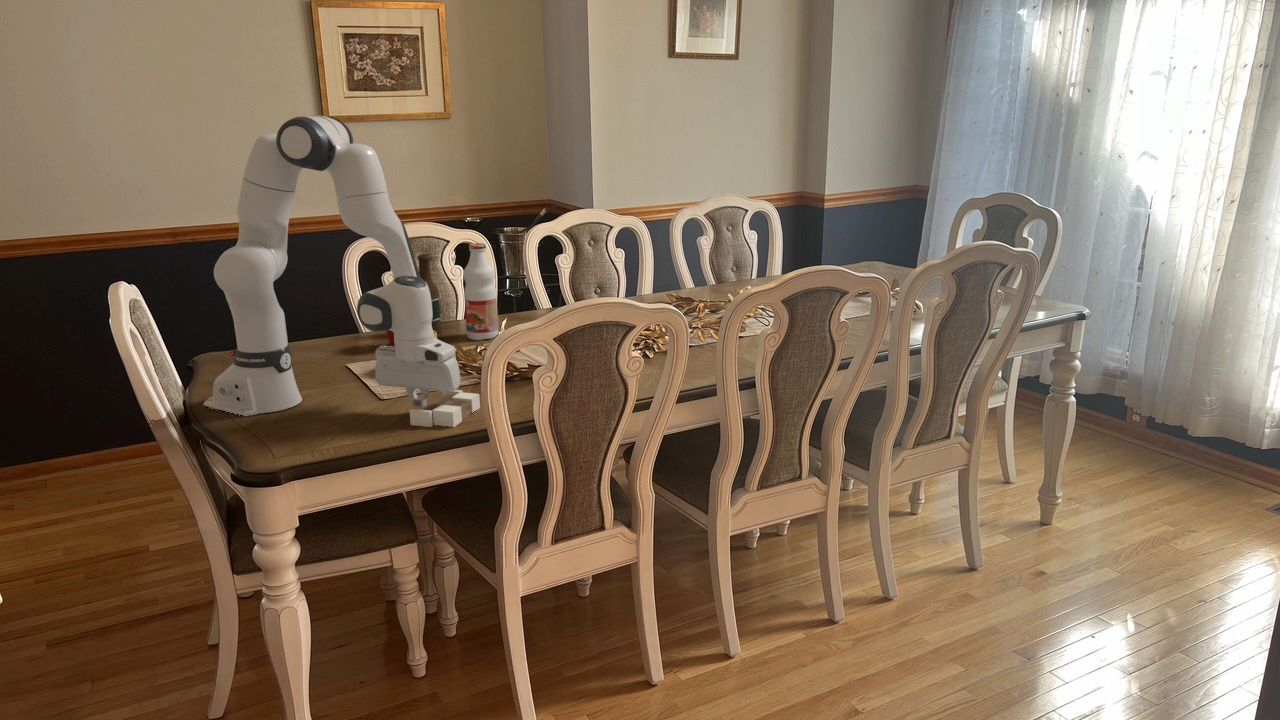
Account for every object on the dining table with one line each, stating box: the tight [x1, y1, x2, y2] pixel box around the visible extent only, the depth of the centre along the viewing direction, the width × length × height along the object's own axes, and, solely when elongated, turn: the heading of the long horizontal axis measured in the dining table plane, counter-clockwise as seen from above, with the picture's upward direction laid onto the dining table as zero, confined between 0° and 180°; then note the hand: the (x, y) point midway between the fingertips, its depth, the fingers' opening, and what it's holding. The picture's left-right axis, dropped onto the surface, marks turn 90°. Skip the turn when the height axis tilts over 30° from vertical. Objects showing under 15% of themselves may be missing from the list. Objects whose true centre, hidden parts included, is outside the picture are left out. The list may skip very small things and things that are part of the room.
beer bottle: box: [417, 254, 442, 335], centre depth 281 cm, size 8×8×24 cm
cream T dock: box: [409, 389, 481, 428], centre depth 213 cm, size 10×16×4 cm, turn 163°
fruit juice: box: [463, 242, 499, 341], centre depth 275 cm, size 9×9×28 cm
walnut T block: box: [422, 395, 471, 421], centre depth 213 cm, size 8×11×3 cm
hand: (419, 405), depth 215 cm, fingers closed
